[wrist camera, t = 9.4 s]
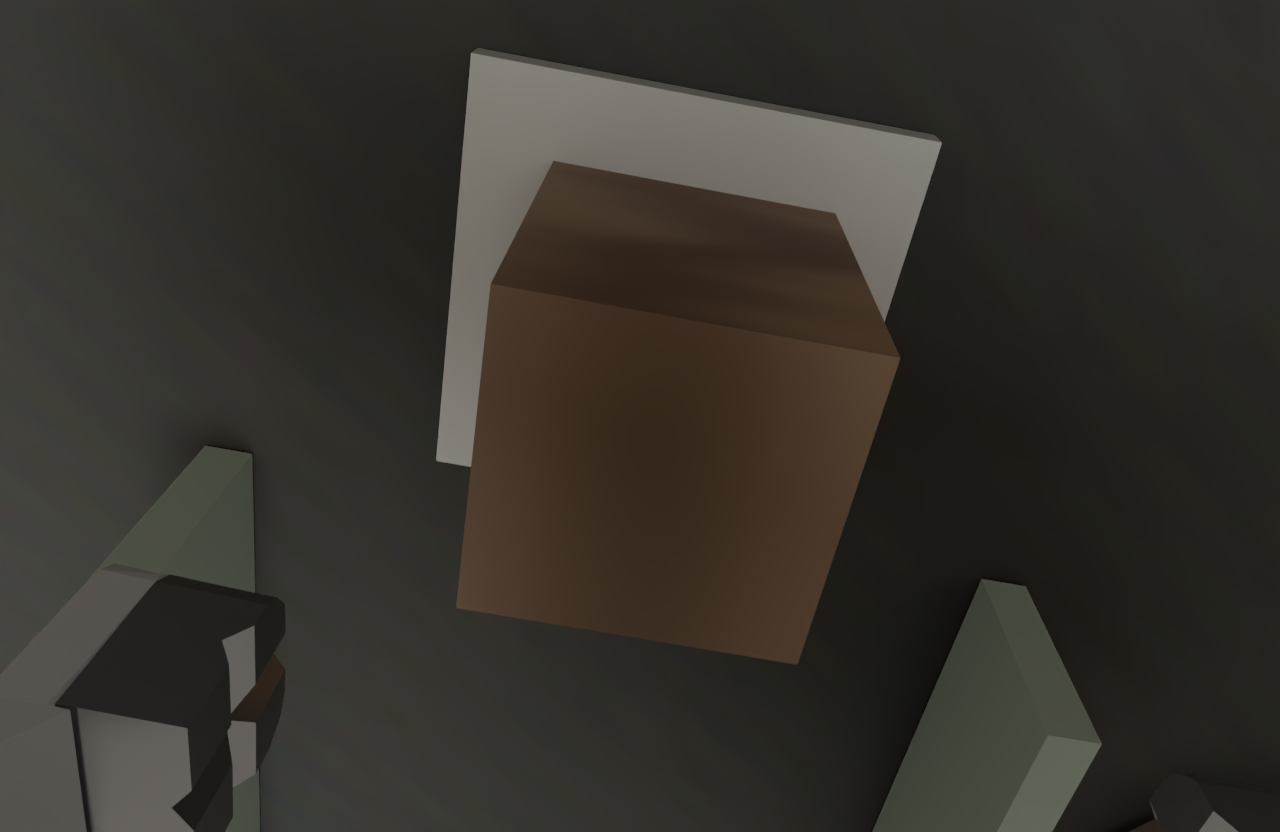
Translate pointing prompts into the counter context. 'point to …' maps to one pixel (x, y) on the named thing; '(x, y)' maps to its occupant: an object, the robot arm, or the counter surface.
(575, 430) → the block
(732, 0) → the counter surface
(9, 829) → the robot arm
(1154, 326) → the counter surface
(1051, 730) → the pale green frame
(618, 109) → the coaster
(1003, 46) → the counter surface
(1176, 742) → the counter surface
